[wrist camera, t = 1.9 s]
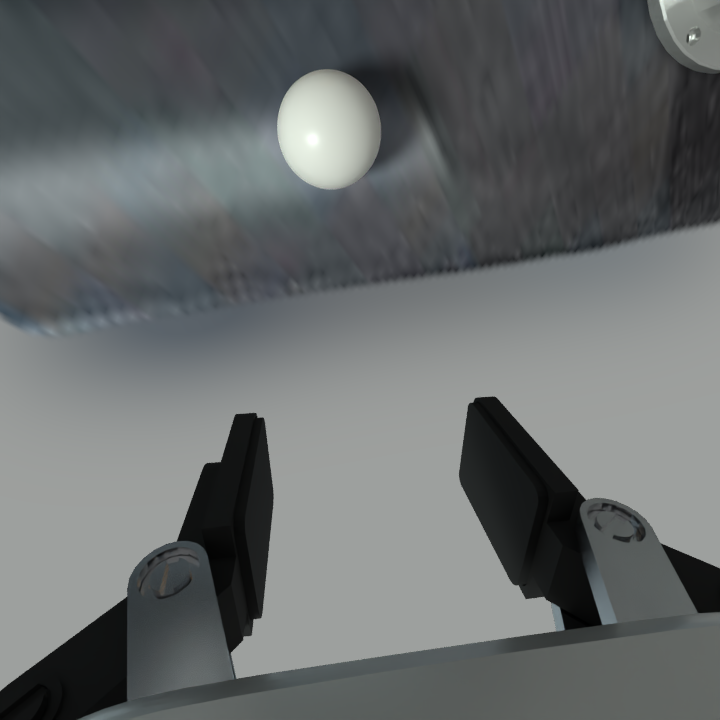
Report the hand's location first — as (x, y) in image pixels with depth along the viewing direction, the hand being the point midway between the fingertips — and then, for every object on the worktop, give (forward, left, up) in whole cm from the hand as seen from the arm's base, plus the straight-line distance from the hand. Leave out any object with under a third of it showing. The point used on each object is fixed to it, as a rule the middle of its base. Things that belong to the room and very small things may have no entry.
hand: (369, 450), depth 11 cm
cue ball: (0, -9, -15) cm, 18 cm away
